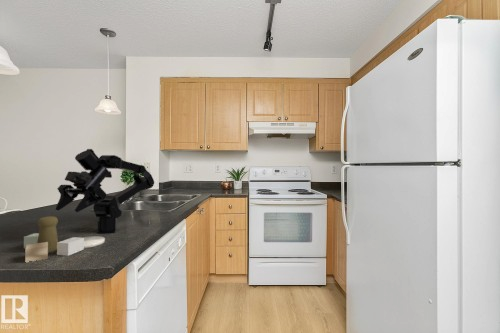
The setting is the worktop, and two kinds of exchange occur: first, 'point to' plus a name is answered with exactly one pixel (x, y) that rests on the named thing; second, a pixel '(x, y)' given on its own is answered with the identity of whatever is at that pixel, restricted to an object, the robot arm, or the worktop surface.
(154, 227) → the worktop surface
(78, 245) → the grey block
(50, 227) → the cork
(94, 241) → the cream plate
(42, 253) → the beech block
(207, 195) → the worktop surface
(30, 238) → the sage block
